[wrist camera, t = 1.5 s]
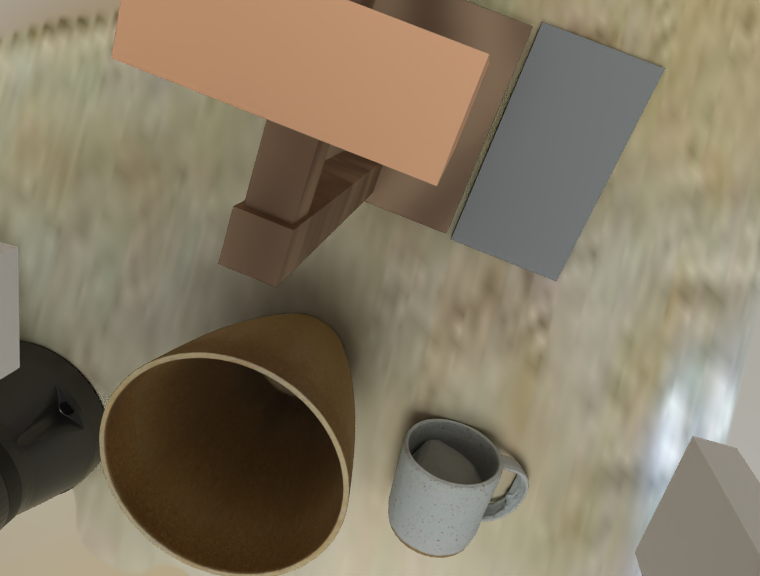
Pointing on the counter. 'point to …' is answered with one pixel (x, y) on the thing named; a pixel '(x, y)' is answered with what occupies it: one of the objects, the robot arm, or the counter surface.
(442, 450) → the ceramic mug
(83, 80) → the counter surface
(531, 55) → the mat
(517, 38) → the hook stand
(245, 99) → the orange notched block
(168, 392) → the plant pot
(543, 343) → the counter surface
